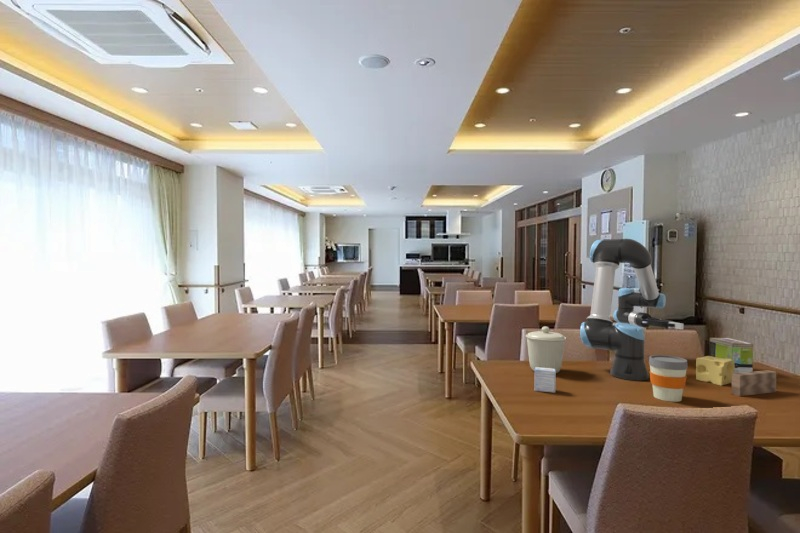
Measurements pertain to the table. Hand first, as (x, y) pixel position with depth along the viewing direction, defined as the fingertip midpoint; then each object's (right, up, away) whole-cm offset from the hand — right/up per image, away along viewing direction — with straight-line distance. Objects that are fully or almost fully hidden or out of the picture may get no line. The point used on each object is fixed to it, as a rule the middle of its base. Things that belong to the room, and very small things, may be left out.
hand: (682, 326), depth 196 cm
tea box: (+25, -22, +3) cm, 33 cm away
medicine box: (-75, -22, -29) cm, 83 cm away
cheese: (+4, -22, -15) cm, 27 cm away
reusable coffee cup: (-31, -22, -37) cm, 53 cm away
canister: (-65, -21, 0) cm, 68 cm away
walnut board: (+8, -22, -31) cm, 38 cm away
